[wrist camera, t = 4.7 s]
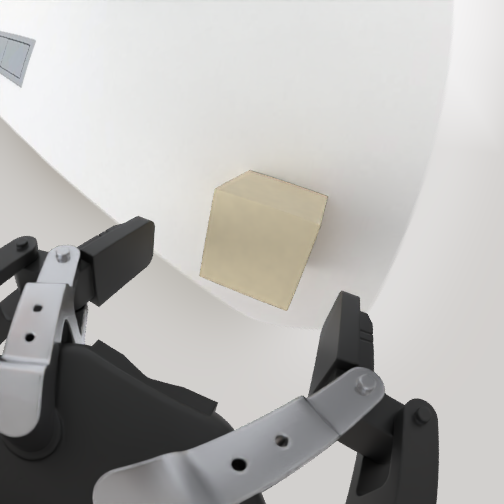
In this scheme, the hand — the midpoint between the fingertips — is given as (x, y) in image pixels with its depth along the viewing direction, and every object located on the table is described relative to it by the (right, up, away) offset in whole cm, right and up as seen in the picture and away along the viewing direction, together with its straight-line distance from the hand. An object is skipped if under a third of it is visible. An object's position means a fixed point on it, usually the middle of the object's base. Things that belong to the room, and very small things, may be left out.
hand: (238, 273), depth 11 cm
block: (+2, +3, +5) cm, 6 cm away
